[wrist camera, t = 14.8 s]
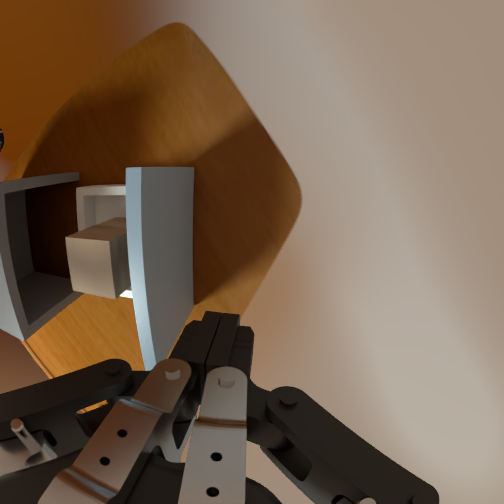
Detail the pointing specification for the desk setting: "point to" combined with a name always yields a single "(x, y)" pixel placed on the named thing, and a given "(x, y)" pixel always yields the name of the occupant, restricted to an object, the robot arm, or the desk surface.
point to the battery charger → (1, 139)
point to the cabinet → (27, 264)
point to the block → (100, 259)
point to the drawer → (151, 247)
